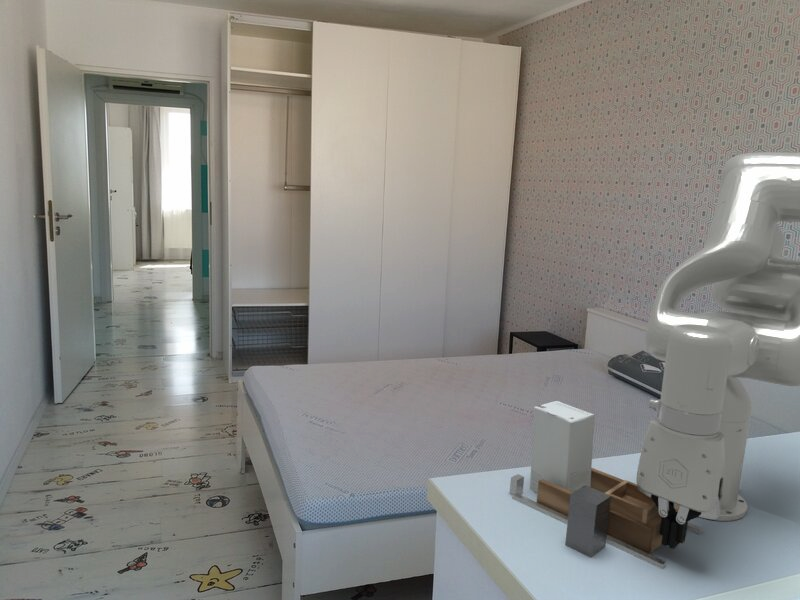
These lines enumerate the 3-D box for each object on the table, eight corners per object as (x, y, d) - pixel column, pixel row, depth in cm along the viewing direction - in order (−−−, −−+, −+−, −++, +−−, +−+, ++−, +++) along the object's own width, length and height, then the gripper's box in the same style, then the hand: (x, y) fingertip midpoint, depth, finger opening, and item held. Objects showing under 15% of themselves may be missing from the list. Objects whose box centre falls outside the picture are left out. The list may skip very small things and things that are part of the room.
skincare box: (589, 502, 102) (599, 415, 99) (563, 511, 99) (573, 421, 96) (551, 480, 109) (559, 398, 106) (525, 488, 106) (533, 404, 103)
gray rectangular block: (579, 536, 92) (585, 485, 91) (605, 548, 90) (611, 495, 88) (565, 546, 90) (570, 493, 88) (590, 559, 87) (596, 505, 85)
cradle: (573, 483, 108) (576, 450, 107) (680, 527, 95) (685, 491, 94) (536, 504, 100) (539, 468, 99) (647, 555, 88) (652, 516, 87)
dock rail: (552, 471, 112) (554, 455, 112) (702, 533, 95) (704, 514, 94) (506, 496, 103) (507, 479, 102) (662, 570, 85) (664, 549, 84)
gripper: (622, 408, 87) (608, 530, 90) (740, 443, 77) (718, 580, 80) (646, 396, 92) (631, 512, 96) (759, 428, 82) (738, 556, 85)
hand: (671, 542), depth 88 cm, fingers closed
